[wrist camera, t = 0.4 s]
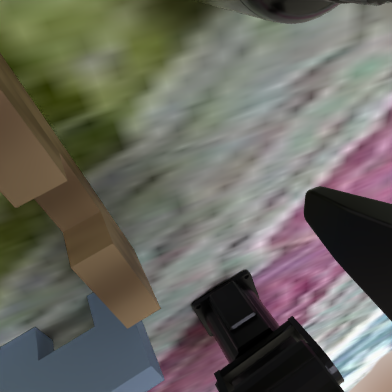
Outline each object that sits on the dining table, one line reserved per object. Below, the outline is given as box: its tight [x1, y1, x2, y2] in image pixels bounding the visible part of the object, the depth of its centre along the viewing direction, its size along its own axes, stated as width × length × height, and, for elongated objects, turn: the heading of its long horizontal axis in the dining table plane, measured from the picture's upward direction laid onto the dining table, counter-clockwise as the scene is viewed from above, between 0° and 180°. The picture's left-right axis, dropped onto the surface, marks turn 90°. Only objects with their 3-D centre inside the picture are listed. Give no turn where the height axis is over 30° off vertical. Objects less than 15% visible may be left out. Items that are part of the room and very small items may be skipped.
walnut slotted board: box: [0, 53, 161, 329], centre depth 19 cm, size 18×2×6 cm, turn 20°
